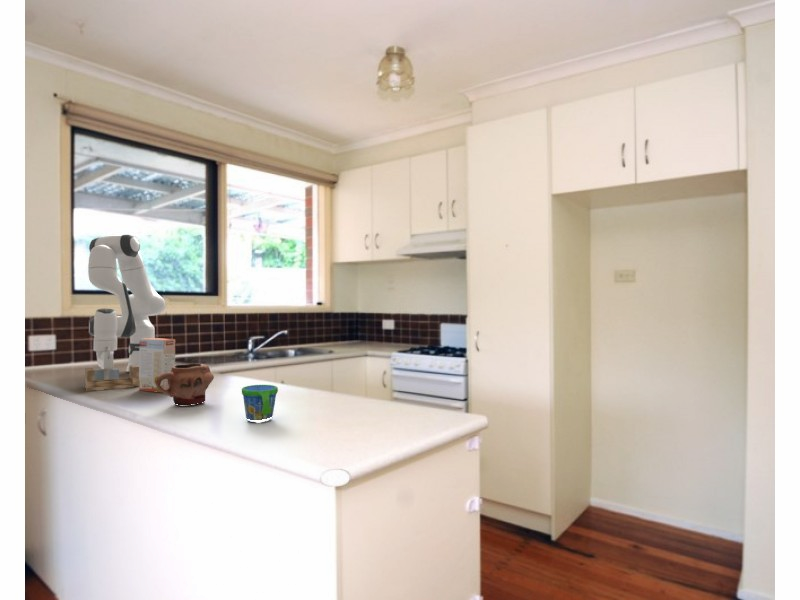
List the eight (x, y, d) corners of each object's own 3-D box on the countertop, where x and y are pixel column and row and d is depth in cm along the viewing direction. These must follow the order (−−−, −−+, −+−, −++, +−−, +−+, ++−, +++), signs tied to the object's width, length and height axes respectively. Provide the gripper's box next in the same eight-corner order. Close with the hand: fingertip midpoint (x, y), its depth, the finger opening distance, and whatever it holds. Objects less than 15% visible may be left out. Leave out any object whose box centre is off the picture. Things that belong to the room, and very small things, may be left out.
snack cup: (281, 425, 142) (282, 390, 142) (244, 429, 138) (244, 393, 138) (272, 413, 156) (273, 382, 156) (238, 416, 152) (239, 384, 152)
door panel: (117, 382, 213) (118, 368, 213) (118, 382, 211) (119, 369, 211) (91, 384, 207) (91, 370, 207) (91, 385, 205) (92, 370, 205)
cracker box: (175, 391, 193) (176, 338, 193) (162, 393, 187) (163, 339, 187) (151, 388, 199) (152, 337, 199) (138, 390, 193) (138, 338, 193)
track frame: (135, 383, 208) (135, 364, 208) (139, 386, 202) (139, 366, 202) (84, 388, 197) (85, 368, 197) (87, 391, 190) (87, 370, 190)
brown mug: (167, 412, 156) (168, 369, 156) (147, 407, 163) (147, 366, 163) (221, 402, 173) (221, 363, 173) (200, 398, 179) (201, 360, 179)
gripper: (117, 348, 203) (117, 380, 203) (110, 344, 219) (110, 374, 219) (100, 348, 199) (99, 382, 199) (94, 344, 215) (93, 375, 215)
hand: (105, 378), depth 209 cm, fingers open, 6 cm apart
